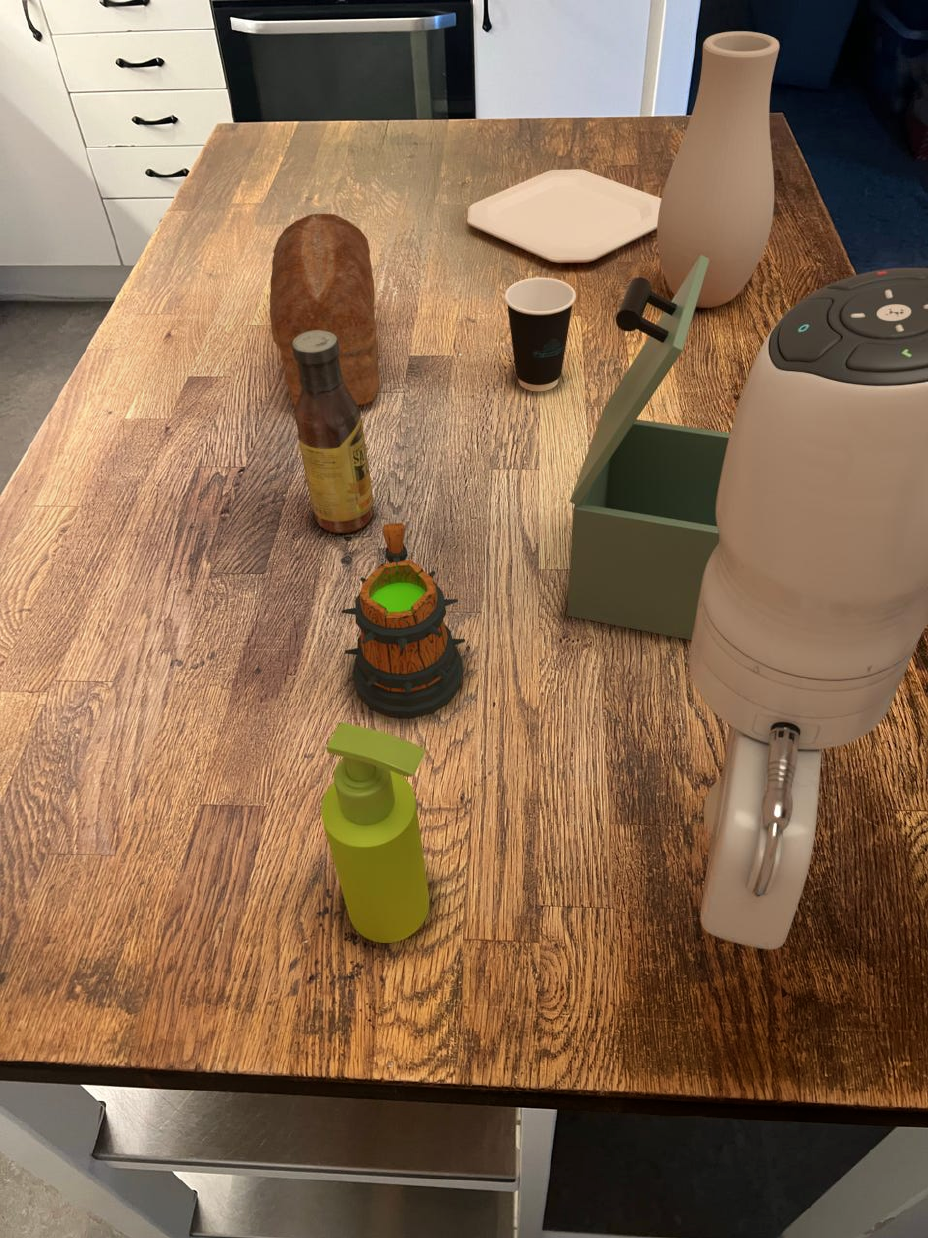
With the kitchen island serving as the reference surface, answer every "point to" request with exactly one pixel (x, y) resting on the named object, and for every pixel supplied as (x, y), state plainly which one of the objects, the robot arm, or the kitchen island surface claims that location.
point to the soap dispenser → (376, 832)
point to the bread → (326, 299)
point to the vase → (722, 171)
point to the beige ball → (711, 805)
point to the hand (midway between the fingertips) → (745, 816)
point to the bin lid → (641, 365)
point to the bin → (648, 530)
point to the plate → (567, 215)
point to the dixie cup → (539, 329)
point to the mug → (403, 637)
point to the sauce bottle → (331, 437)
